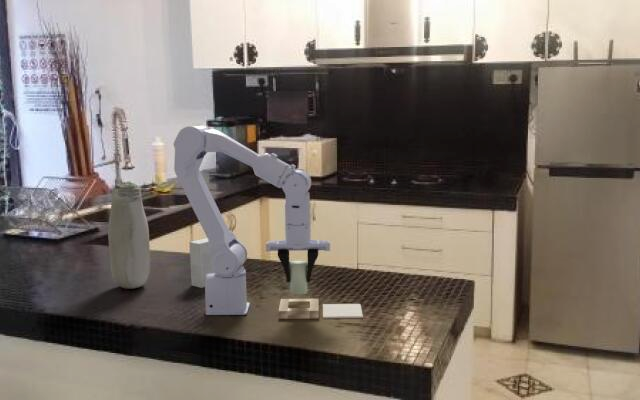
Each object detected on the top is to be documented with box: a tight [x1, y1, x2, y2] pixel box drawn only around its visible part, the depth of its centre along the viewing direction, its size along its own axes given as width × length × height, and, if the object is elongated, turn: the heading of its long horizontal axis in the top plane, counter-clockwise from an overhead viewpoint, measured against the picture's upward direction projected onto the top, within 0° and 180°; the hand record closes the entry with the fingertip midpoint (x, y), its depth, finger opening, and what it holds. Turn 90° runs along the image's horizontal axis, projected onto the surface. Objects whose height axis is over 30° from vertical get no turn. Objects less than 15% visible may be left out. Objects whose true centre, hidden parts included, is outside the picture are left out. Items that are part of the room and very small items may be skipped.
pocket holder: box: [278, 298, 320, 320], centre depth 154 cm, size 9×9×2 cm
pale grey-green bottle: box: [107, 181, 151, 290], centre depth 174 cm, size 10×10×28 cm
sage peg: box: [289, 260, 308, 296], centre depth 153 cm, size 4×4×7 cm
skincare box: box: [189, 237, 215, 289], centre depth 177 cm, size 6×4×12 cm
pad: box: [322, 303, 364, 319], centre depth 155 cm, size 9×9×1 cm
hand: (298, 281), depth 153 cm, fingers closed on sage peg, 4 cm apart
